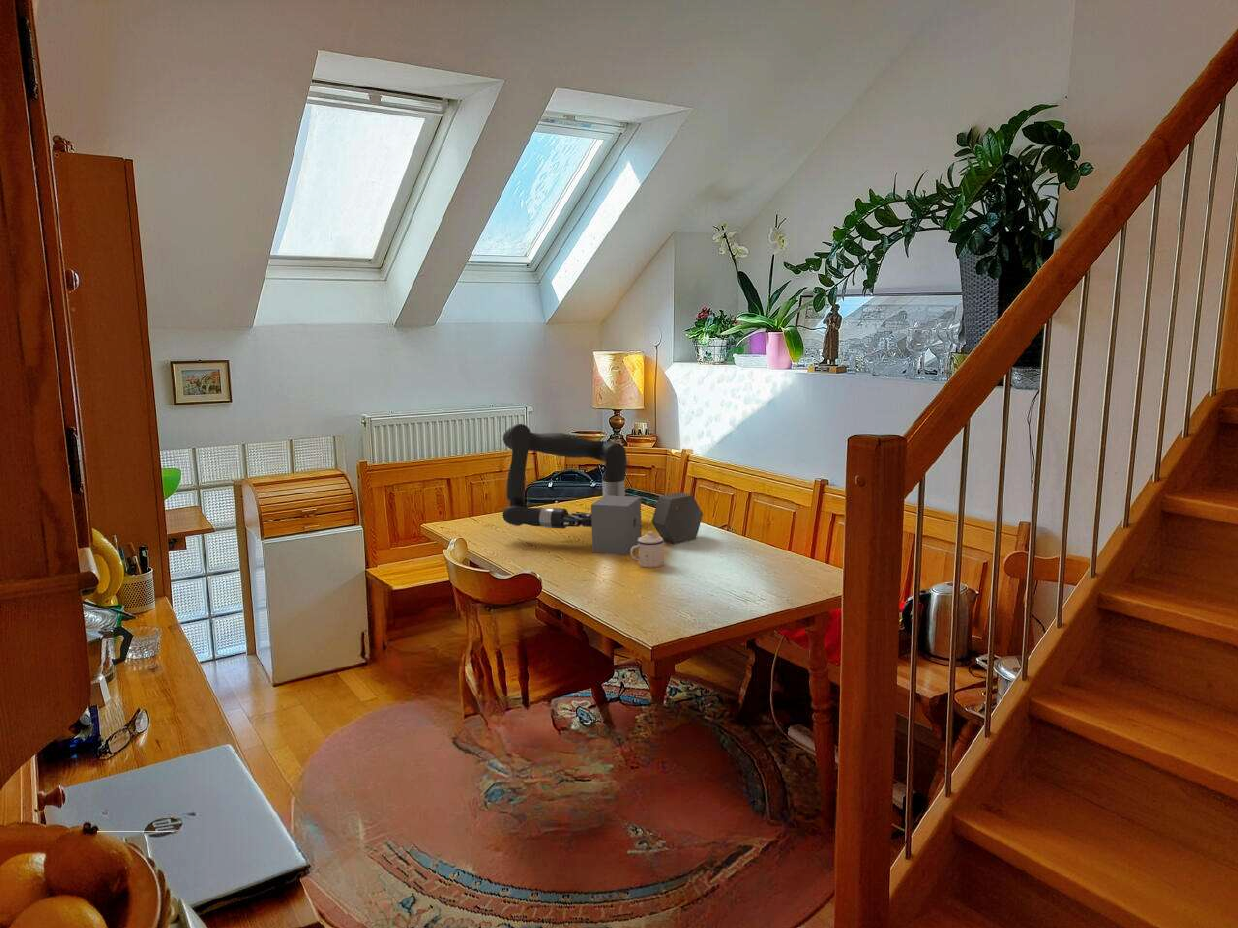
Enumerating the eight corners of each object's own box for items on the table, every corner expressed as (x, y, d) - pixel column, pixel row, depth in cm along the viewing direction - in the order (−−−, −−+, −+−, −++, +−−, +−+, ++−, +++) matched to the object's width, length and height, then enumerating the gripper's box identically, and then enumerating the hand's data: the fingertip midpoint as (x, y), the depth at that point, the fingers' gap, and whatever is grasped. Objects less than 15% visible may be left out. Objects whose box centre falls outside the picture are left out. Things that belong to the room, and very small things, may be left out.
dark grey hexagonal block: (696, 520, 339) (673, 481, 329) (709, 524, 333) (686, 484, 323) (668, 549, 332) (644, 511, 323) (681, 554, 326) (657, 514, 317)
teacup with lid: (658, 559, 304) (657, 527, 302) (668, 566, 296) (667, 533, 294) (626, 563, 301) (625, 531, 299) (635, 570, 292) (634, 537, 290)
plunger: (586, 524, 326) (586, 511, 325) (634, 527, 320) (634, 514, 319) (581, 527, 321) (581, 514, 320) (630, 530, 315) (629, 517, 314)
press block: (606, 541, 330) (605, 495, 327) (641, 543, 326) (640, 496, 323) (592, 552, 315) (590, 504, 312) (628, 554, 311) (627, 506, 308)
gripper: (545, 512, 320) (588, 515, 314) (560, 504, 333) (601, 506, 327) (546, 532, 321) (589, 535, 315) (561, 523, 334) (602, 525, 329)
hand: (595, 520), depth 321 cm, fingers closed on plunger, 5 cm apart
